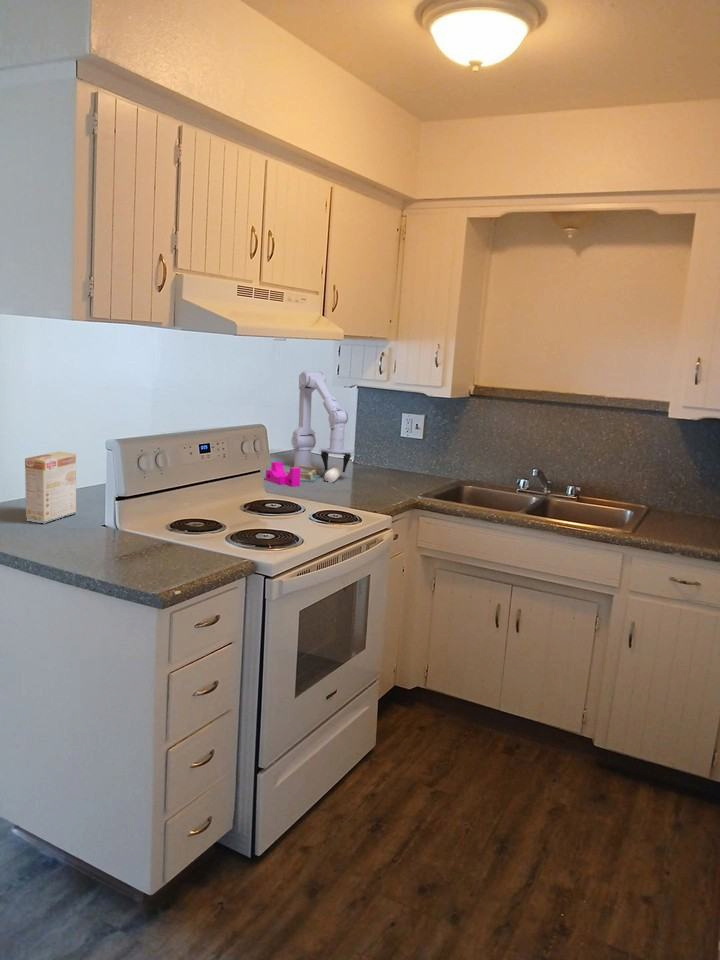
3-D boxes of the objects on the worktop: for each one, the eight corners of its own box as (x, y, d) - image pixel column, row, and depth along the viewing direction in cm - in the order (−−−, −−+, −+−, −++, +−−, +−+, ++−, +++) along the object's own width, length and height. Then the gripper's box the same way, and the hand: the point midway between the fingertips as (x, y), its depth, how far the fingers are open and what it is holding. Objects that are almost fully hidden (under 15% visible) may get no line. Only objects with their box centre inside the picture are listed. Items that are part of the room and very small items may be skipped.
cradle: (291, 471, 339) (292, 464, 338) (322, 474, 337) (323, 467, 336) (280, 479, 320) (280, 472, 319) (313, 482, 318) (313, 475, 317)
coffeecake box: (58, 511, 245) (58, 451, 241) (77, 514, 243) (77, 453, 239) (24, 521, 231) (23, 457, 227) (44, 525, 229) (43, 460, 225)
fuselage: (331, 478, 333) (329, 467, 332) (342, 476, 332) (340, 465, 331) (325, 483, 321) (323, 472, 320) (337, 481, 320) (334, 470, 319)
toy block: (265, 480, 316) (266, 462, 315) (278, 479, 320) (278, 461, 319) (287, 488, 305) (288, 469, 304) (299, 486, 309) (300, 468, 308)
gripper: (318, 438, 320) (316, 470, 323) (352, 442, 318) (350, 474, 321) (321, 436, 327) (319, 468, 330) (355, 439, 325) (353, 471, 328)
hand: (334, 471), depth 326 cm, fingers open, 7 cm apart
